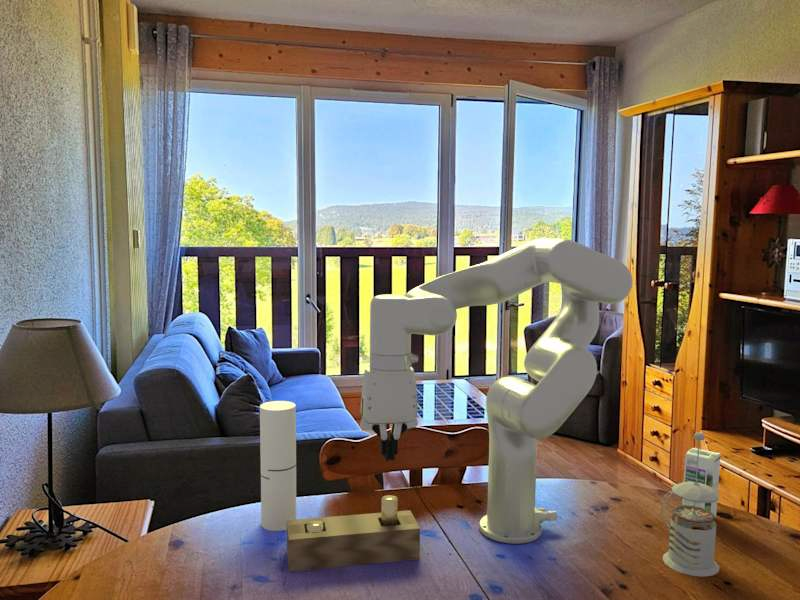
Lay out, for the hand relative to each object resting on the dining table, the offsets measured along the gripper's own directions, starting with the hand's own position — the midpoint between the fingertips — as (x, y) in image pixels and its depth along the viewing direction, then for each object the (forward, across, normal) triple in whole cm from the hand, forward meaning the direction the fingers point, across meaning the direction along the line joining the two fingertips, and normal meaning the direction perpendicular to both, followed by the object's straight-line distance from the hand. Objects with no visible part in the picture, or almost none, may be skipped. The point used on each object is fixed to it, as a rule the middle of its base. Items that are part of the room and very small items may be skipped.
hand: (388, 458), depth 128 cm
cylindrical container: (+19, +20, -16) cm, 32 cm away
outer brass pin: (+18, +14, 0) cm, 23 cm away
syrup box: (+18, -68, -2) cm, 71 cm away
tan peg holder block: (+18, +7, 0) cm, 20 cm away
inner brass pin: (+14, 0, 0) cm, 14 cm away
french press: (+18, -54, +14) cm, 59 cm away
